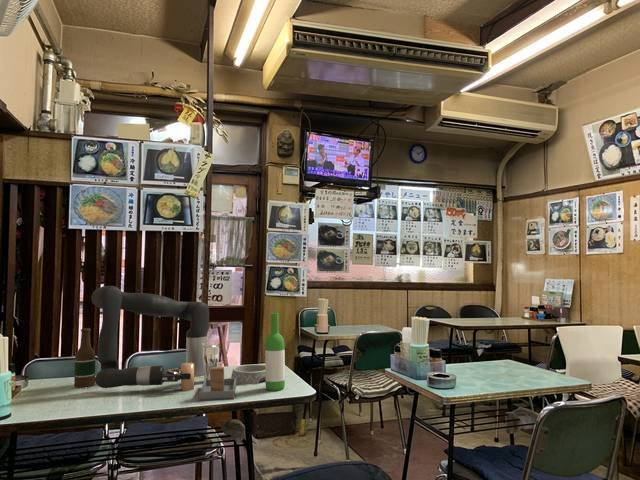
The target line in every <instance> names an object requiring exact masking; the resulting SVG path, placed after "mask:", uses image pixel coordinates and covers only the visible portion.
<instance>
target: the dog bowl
mask: <svg viewBox="0 0 640 480" xmlns="http://www.w3.org/2000/svg"><path fill="white" fill-rule="evenodd" d="M230 378H236V385H241V384H253V385H259V382H263V381H266V380H265V364H259V363H258V364H255V363H254V364H242V365H237V366H235V367H233V368H232V372H231V377H230Z"/></svg>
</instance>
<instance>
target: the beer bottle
mask: <svg viewBox="0 0 640 480" xmlns="http://www.w3.org/2000/svg"><path fill="white" fill-rule="evenodd" d="M80 332H81V335H80V345H79V348H78V350H77V351H76V353H75V356H74V377H73V379H74V381H73V382H74V388H76V387H77V388H76V389H85V387H87V388H90V387H91V386H92V387H94V386H95V385H96V383H95V377H96V353H95V350H94V349H93V347H92V346H91V345H92V344H91V332H92V331H91V328H90V327H86V328H85V327H83V328H81V329H80Z"/></svg>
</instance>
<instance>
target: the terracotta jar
mask: <svg viewBox="0 0 640 480" xmlns="http://www.w3.org/2000/svg"><path fill="white" fill-rule="evenodd" d="M180 368H181V374H184V373H190V374H191V378H190V379H185V380H181V379H180V390H181V391H184V392H189V391H193V390H194V389H195V376H194V363H186V362H183V363H181V365H180Z"/></svg>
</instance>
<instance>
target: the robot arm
mask: <svg viewBox="0 0 640 480" xmlns="http://www.w3.org/2000/svg"><path fill="white" fill-rule="evenodd" d="M90 298H91V302H92V304H93V305H94V306H95V307H96V308H98V309H101V310H102V323H101V327H100V330H99V335H98V338H97V339H98V340H97V361H98V362H99V363H100V370H99V372H97V373H96V374H95V385H97V387H99V388H101V389H102V388H103V389H112V388H117V387H119V388H120V387H125V386H127V387H129V386H132V387H133V386H143V387H144V386H147V387H149V386H162V385H163V383H166V382H167V383H169V382H172V383H173V382H175V383H176V382H179V381H181V380H185V379H190V378H191V374H190V373H184V374H181V367H172V368H170V367H169V368H168V370H164V369H165V367H164V365H145V366H137V367H135V366H134V367H131V366H130V367H126V368H121V369H120V368H119V362H118V358H117V357H118V328H119V321H120V312H121V310H123V311H127V312H128V311H129V312H130V313H131V312H133V313H136V314H141V315H146V316H153V317H163V318H166V317H167V318H168V317H174V318H179V319H183V320H186V321H188V322H189V321H190V328H189V329H187V331H186V334H185V335H186V339H185V340H186V343H185V344H186V347H185V348H186V349H185V351H186V353H185V354H186V356H185V357H186V360H185V363H194V377H198V376H203V375H204V366H203V346H207V345H208V332H209V326H210V324H209V323H210V309H209V306H208V304H207V303H206V302H202V301H180V300H176V299H172V298H171V297H167V296H164V295H161V294H154V293H149V292H148V293H146V292H126V291H122V290H121V289H120V288H119V287H117V286H114V285H106V286H105V285H103V286H100V287H98V288H96V289H95V290H94V291H92V294H91V297H90Z"/></svg>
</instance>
